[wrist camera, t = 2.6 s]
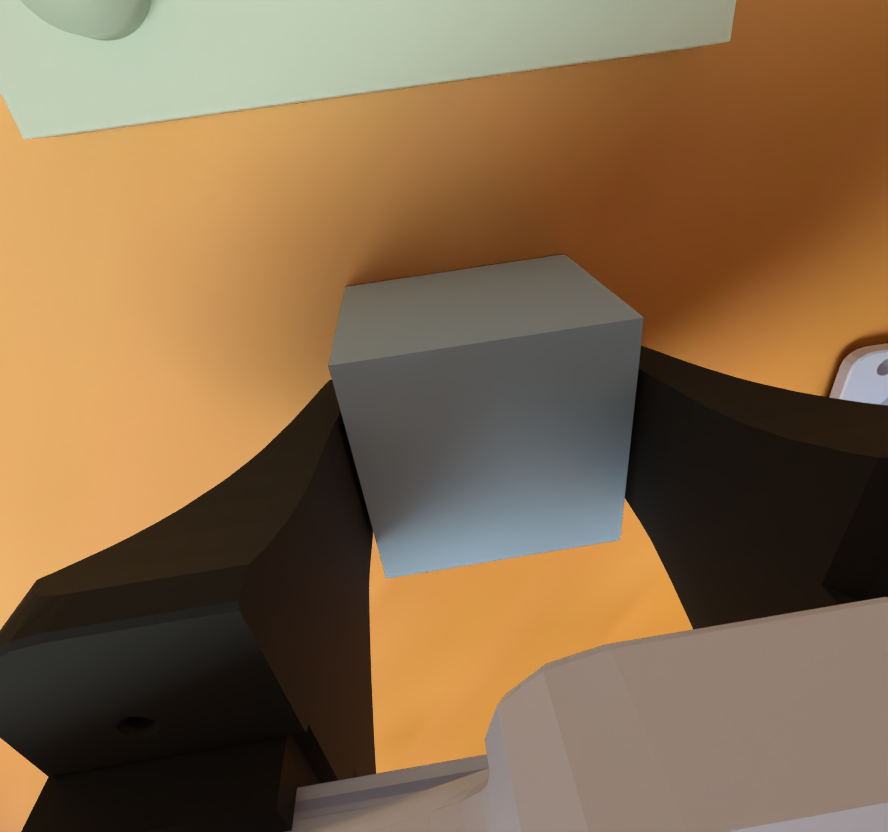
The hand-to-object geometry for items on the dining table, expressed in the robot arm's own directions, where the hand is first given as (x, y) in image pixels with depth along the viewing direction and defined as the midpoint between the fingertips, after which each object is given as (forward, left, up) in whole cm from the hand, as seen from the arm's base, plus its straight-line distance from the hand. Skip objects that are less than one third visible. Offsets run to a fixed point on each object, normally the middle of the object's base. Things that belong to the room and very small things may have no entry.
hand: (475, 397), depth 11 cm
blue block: (0, 0, -1) cm, 1 cm away
